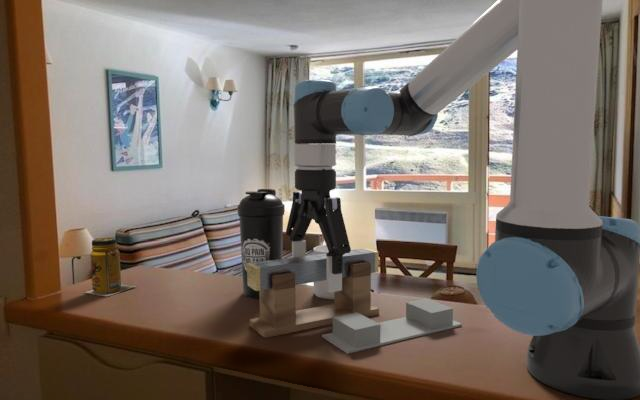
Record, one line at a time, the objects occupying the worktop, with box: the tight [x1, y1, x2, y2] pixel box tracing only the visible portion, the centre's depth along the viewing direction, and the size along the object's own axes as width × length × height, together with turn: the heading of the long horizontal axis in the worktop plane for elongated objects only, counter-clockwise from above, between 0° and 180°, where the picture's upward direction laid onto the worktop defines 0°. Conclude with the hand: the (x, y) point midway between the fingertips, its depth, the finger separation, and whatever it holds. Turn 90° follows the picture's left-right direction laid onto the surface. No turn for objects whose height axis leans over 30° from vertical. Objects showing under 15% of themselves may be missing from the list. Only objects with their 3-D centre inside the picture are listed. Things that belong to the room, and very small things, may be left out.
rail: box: [247, 248, 380, 291], centre depth 95 cm, size 26×4×4 cm, turn 119°
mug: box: [312, 244, 344, 300], centre depth 111 cm, size 12×8×10 cm
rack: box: [249, 262, 380, 339], centre depth 95 cm, size 7×24×10 cm, turn 119°
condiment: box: [84, 237, 137, 297], centre depth 116 cm, size 7×8×12 cm
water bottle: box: [237, 188, 286, 300], centre depth 112 cm, size 10×10×23 cm
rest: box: [321, 298, 463, 355], centre depth 90 cm, size 8×24×3 cm, turn 119°
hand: (315, 281), depth 95 cm, fingers open, 13 cm apart
